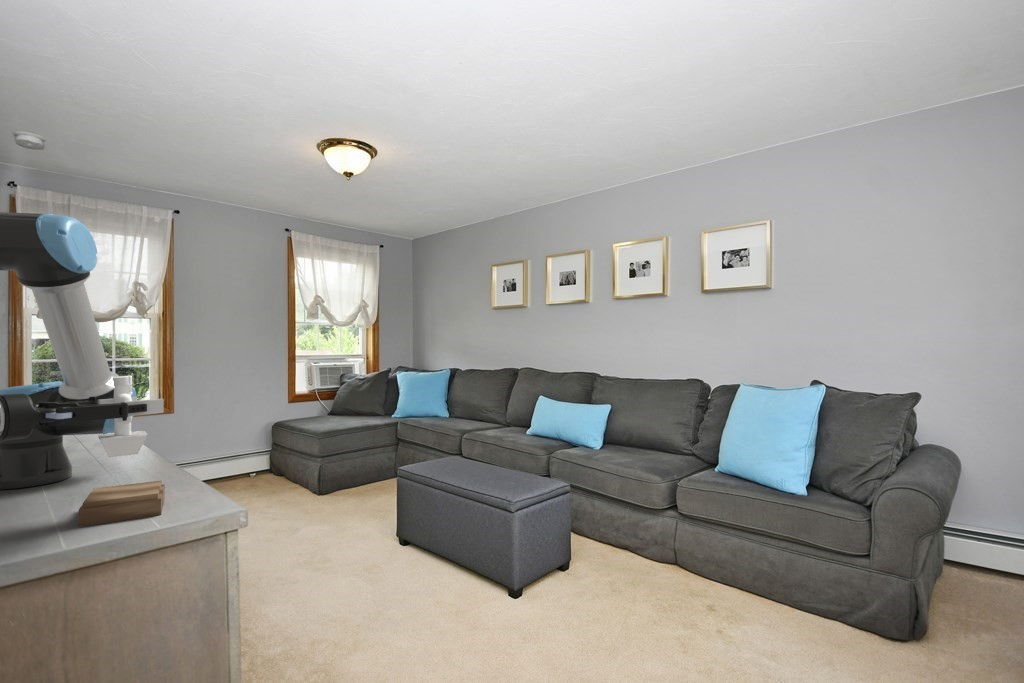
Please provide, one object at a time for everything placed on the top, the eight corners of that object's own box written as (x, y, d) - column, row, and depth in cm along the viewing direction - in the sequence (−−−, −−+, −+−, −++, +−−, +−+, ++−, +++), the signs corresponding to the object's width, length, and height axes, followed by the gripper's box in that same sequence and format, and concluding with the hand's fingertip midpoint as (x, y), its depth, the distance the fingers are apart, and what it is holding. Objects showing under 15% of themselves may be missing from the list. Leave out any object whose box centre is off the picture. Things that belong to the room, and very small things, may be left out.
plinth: (90, 508, 100) (90, 488, 100) (164, 498, 107) (164, 479, 107) (78, 526, 90) (78, 504, 90) (161, 514, 96) (161, 493, 96)
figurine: (99, 460, 92) (99, 377, 92) (97, 452, 99) (97, 375, 100) (148, 454, 97) (148, 375, 97) (143, 448, 104) (143, 374, 104)
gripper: (-30, 436, 88) (121, 420, 107) (23, 447, 77) (179, 426, 97) (-30, 392, 88) (121, 384, 108) (23, 397, 77) (179, 387, 97)
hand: (149, 404), depth 102 cm, fingers closed on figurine, 9 cm apart
